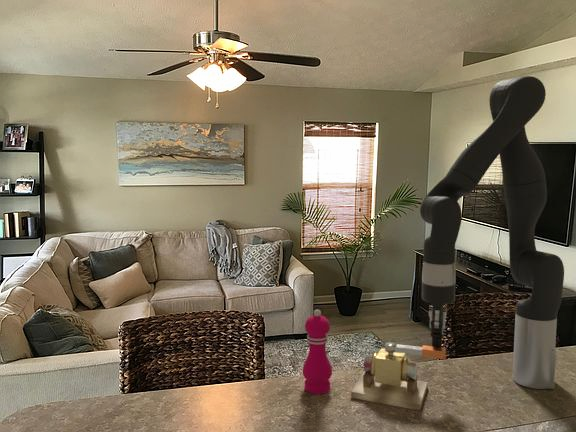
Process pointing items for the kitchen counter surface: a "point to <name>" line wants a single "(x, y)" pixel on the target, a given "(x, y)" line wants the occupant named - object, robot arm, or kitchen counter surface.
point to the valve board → (390, 392)
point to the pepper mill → (317, 355)
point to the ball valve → (390, 367)
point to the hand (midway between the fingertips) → (436, 351)
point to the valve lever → (417, 350)
